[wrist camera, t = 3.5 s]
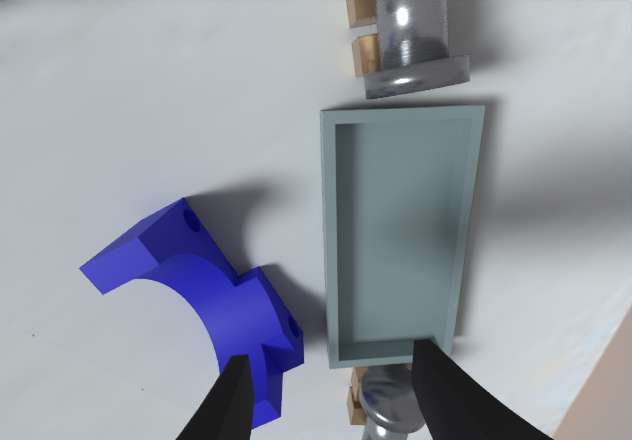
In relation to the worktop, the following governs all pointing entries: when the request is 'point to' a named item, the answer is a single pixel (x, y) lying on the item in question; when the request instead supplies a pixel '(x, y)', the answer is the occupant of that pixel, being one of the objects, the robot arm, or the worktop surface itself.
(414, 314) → the grey-blue rectangular tray
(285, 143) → the worktop surface
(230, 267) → the blue bearing cap
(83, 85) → the worktop surface
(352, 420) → the shaft
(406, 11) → the shaft
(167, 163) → the worktop surface
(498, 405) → the robot arm
